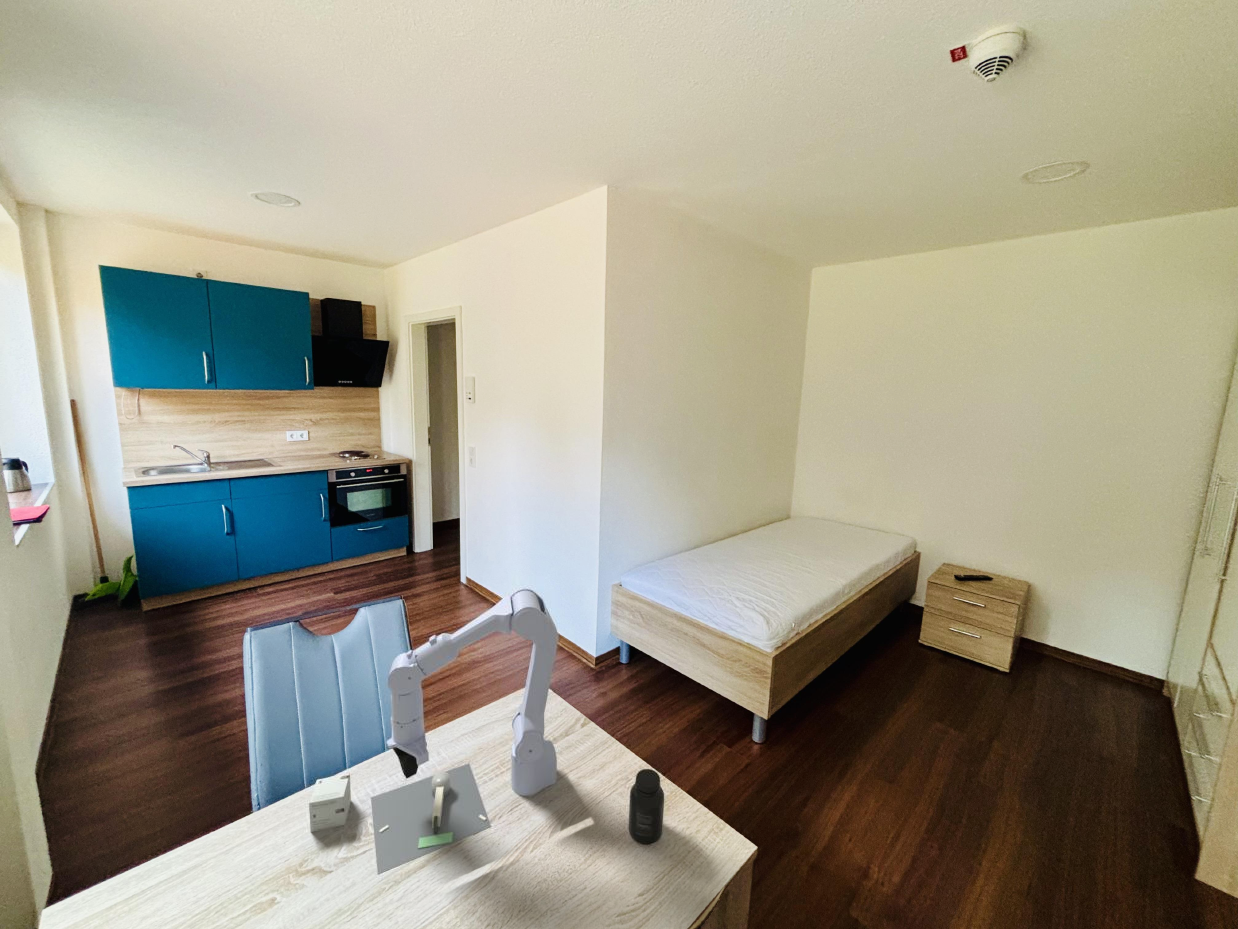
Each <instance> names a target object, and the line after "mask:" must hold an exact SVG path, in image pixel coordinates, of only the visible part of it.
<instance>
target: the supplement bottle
mask: <svg viewBox="0 0 1238 929" xmlns="http://www.w3.org/2000/svg"><path fill="white" fill-rule="evenodd" d="M628 810H629V811H628V832H629V835H630V837H631V838H632V839H633V841H635V842H636V843H638V844H640V845H644V846H649V845H653V844H656V843H657V842H658V841H659V840H660V839H661V837H662V835H663V828H664V827H663V826H664V813H665V812H664V811H665V792H664V790H663V788H662V786H661V777H660V775H659V773H658V772H657V771H655V770H654V769H652V768H651V769H650V768H644V769H640V770H639V771H637V773H636V775H635V783H633V785H632V786H631V788H630V792H629V807H628Z"/></svg>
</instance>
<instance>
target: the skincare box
mask: <svg viewBox="0 0 1238 929" xmlns="http://www.w3.org/2000/svg"><path fill="white" fill-rule="evenodd" d="M351 794H352V792H351V774H350V773H346V774H341V775H332V776H329V777H324V778H319V779H317V780H316V781H315V784H314V788H313V790H312V794H311V797H310V800H309V802H308V812H309V825H310V826H309V827H310V833H312V832H316V831H322V830H325V829H330V828H331V829H332V828H336V827H340V826H345V825H346V822H347V819H348V815H349V811H350V807H351V801H352V800H351V799H352V795H351Z"/></svg>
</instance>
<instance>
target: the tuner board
mask: <svg viewBox="0 0 1238 929" xmlns="http://www.w3.org/2000/svg"><path fill="white" fill-rule="evenodd" d="M470 764H471V763H466V764H464V765H460V766H457V767H454V768H451V769H449V770H446V771H445V772H446V773H448V774H449V775H450V792H449V794H448V795H447V796H445V797H444V798H443V807H442V815H441V823H440V827H438V830H437V834H434V828H432V815H433V808H434V801H435V798H434V797H433V795H432V778H433V777H434V776H435V775H436V774H434V775H431V776H429V777H425V778H422V779H421V780H417V781H414V782H411V783H409V784H405V785H403V786H400V787H397V788H394V789H391V790H389V791H385V792H383V793H380V794H377V795H373V796H372V797H370V801H371V811H372V812H371V815H372V824H373V825H372V826H373V835H374V845H375V846H374V847H375V848H374V849H375V858H376V860H375V861H376V869H377V870H376V872H377V875H380V874H382V873H384V872H385V873H386V872H387V871H390V870H391V869H394V868H396V867H400V866H401V865H404V864H406V863H409V862H411V861H414V860H415V859H418V858H421V857H422V856H423V857H424V856H425V855H427V854H430V853H432V852H434V851H437V850H440V849H441V848H444V847H447V846H448V845H451V844H453V843H456V842H458V841H462V840H464V839H466V838H468V837H470V836H473V835H475V834H477V833H479V832H482V831H484V830H487V829H489V828H491V827H492V826H491V822H490V819H489V817H488V813H487V811H486V808H485V805H484V803H483V799H482V795H481V794H480V790H479V787H478V784H477V782H476V779H475V777H474V773H473V771H472V767H471V765H470Z"/></svg>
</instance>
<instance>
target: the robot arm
mask: <svg viewBox="0 0 1238 929" xmlns="http://www.w3.org/2000/svg"><path fill="white" fill-rule="evenodd" d="M549 612H550V611H549V610H548V607H546V604H545V601H544V599H543V598H542V597H541V596H540V595H539V594H538V593H537V592H536V591H534V590H533V589H531V588H525V587H524V588H519V589H517V590H515V591H514V592H513V593H511V595H510V594H509V595H507V596H504V597H503V598H502V599H500V600H499V601H498V602H497V603H496V604H495V605H494V606H492V607H491V608H490V609H487V610H486V611H485V612H483V613H481V615H479V616H477V617H475V619H473V620H472V621H470V622H468V623H467V624H465V625H464V626H462V627H461V628H460V629H458V630H457V631H455V632H453V633H452V634H451V633H446V632H442V633H441V634H439V635H436V634H433V635H432V636H430V637H429V638H428V639H429V640H428V641H427V642H426V643H424V644H422V645H420V646H418V647H417V648H416V649H414V650H412V649H410V650H408V651H407V652H403V653H400V654H399V655H397V656H396V657H395V658H394V660H393V661H392V664H391V667H390V671H389V674H388V678H387V687H388V689H389V690H390V692H391V695H390V710H391V711H390V712H391V716H390V726H391V737H390V738H389V739H387V740H386V746H387V748H388V749H392V751H393V752H394V754H395V755H396V756H397V758H398V761H399V764H400V767H401V771H402V773H403V775H404V777H405V779H409V778H411V777H413V776H415V775H417V772H418V769H419V766H421V765H423V764H425V763H428V761H430V755H429V754H430V753H429V751H428V748H427V747H428V746H427V745H428V744H427V741H426V740H427V739H426V730H425V729H426V728H425V727H424V726H425V722H424V718H425V717H424V698H423V693H424V692H423V688H422V682H423V680H425V679H426V678H427V677H429V676H431V675H432V674H434V673H436V672H437V671H439V670H441V669H442V668H444V667H445V666H447V665H449V664H451V663H453V661H456V659H458V656H459V652H460V650H463V649H464V648H467V646H469V645H472V644H474V643H475V642H478V641H480V640H481V639H483V638H485V637H487V636H489V635H491V634H492V633H494V632H499V633H502V634H505V635H508V636H512V631H513V632H514V633H515V634H516V635H518V636H519V637H522V638H524V639H527V640H529V641H531V642H532V643H533V644H532V649H531V654H530V655H531V656H530V659H529V667H528V671H527V675H526V676H527V677H526V681H525V687H524V691H523V698H522V701H521V703H519V708H518V710H517V712H516V713H515V715H514V717H513V719H512V721H511V726H512V730H513V740H514V741H513V743H512V746H511V748H510V749H511V750H510V751H511V752H510V760H511V761H510V787H511V789H512V791H513V792H514V793H515V794H517V795H519V796H522V797H524V796H525V797H527V796H534V795H536V794H537V793H539V792H540V791H541V790H543V789H544V788H546V787H549V786H551V785H554V784H556V783H557V771H558V770H557V768H558V767H557V766H558V761H557V760H558V758H557V752H556V749H555V746H554V743H553V741H552V740H551V739H544V738H545V737H544V736H545V712H546V706H547V701H548V696H549V690H550V686H551V685H550V684H551V679H552V674H553V671H554V665H555V664H554V663H555V660H556V653H557V648H558V643H559V638H560V637H559V636H560V635H559V633H558V629H557V627H556V624H555V622H554V620H553V618H552V616H551V615H550V613H549Z"/></svg>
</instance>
